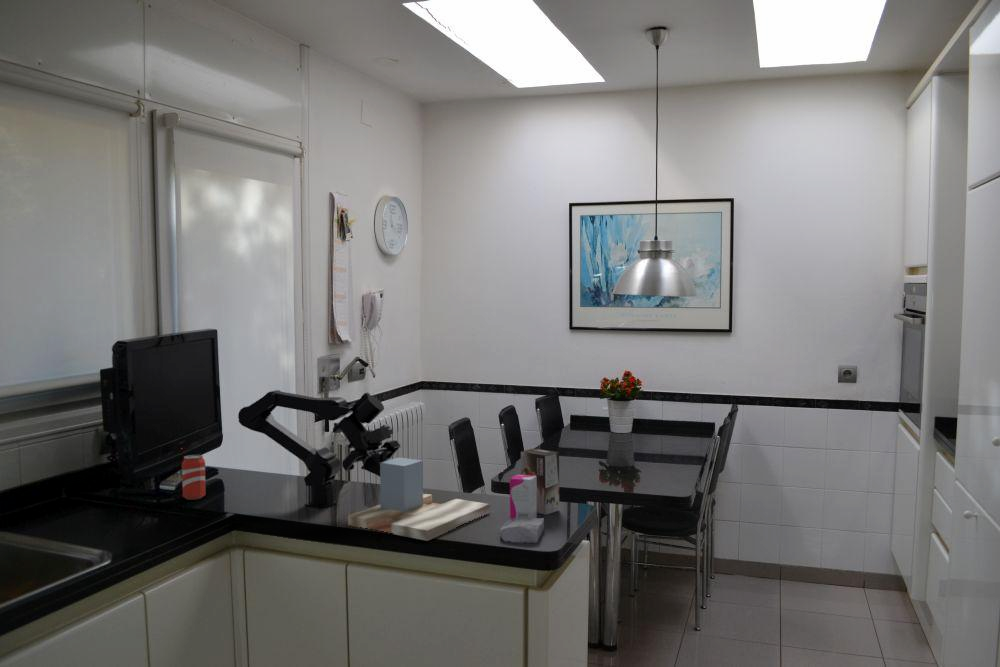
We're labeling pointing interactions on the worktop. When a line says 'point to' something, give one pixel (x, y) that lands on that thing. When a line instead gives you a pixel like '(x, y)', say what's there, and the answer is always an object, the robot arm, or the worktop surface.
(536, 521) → the stone block
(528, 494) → the supplement box
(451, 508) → the trap board
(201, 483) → the beverage can
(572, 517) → the worktop surface
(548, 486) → the coffee box
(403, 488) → the slate block
